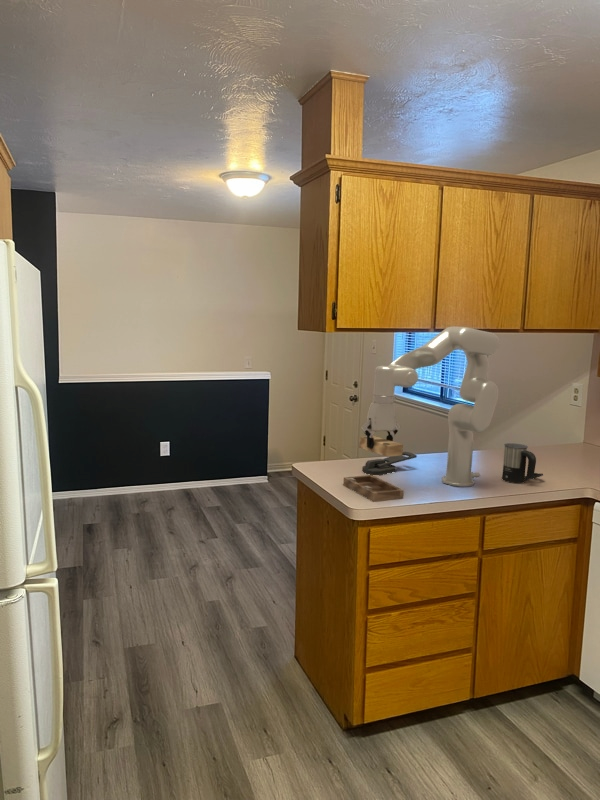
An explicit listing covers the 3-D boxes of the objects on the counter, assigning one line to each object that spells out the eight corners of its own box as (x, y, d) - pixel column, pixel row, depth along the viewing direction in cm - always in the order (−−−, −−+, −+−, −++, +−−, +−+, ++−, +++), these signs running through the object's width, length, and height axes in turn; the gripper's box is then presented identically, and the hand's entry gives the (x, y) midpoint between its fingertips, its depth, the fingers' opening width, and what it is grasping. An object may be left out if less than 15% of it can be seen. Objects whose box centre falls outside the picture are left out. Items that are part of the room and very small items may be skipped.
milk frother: (497, 480, 247) (500, 444, 245) (511, 473, 259) (515, 439, 257) (532, 487, 238) (536, 451, 236) (545, 480, 250) (549, 445, 248)
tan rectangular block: (359, 447, 226) (359, 436, 225) (373, 446, 230) (374, 435, 229) (387, 456, 213) (388, 445, 212) (402, 455, 216) (403, 443, 216)
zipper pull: (419, 455, 257) (373, 460, 243) (418, 470, 258) (372, 476, 244) (404, 450, 264) (359, 455, 251) (403, 465, 265) (358, 471, 252)
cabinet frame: (343, 485, 230) (343, 475, 229) (371, 482, 235) (371, 472, 235) (373, 501, 211) (374, 491, 210) (403, 498, 216) (403, 488, 215)
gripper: (397, 398, 226) (393, 444, 228) (357, 398, 219) (353, 446, 221) (409, 401, 219) (404, 448, 222) (368, 401, 212) (364, 450, 214)
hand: (379, 447), depth 221 cm, fingers closed on tan rectangular block, 7 cm apart
